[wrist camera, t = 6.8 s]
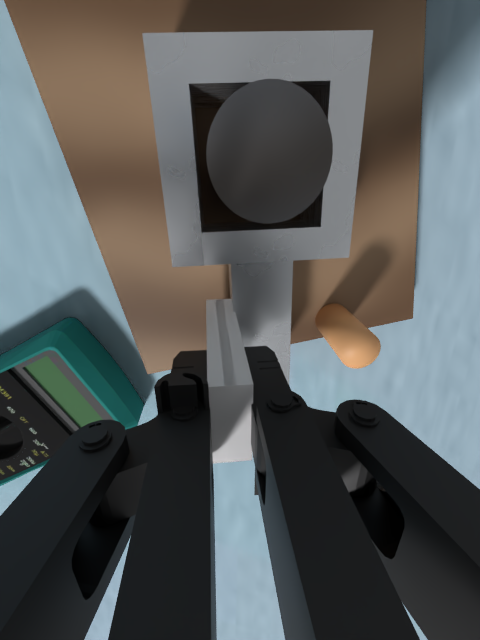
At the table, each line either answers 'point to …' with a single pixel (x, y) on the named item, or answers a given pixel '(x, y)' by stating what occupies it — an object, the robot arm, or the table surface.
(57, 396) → the digital multimeter
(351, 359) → the dowel pin
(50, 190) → the table surface
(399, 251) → the board
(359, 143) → the grey frame piece
